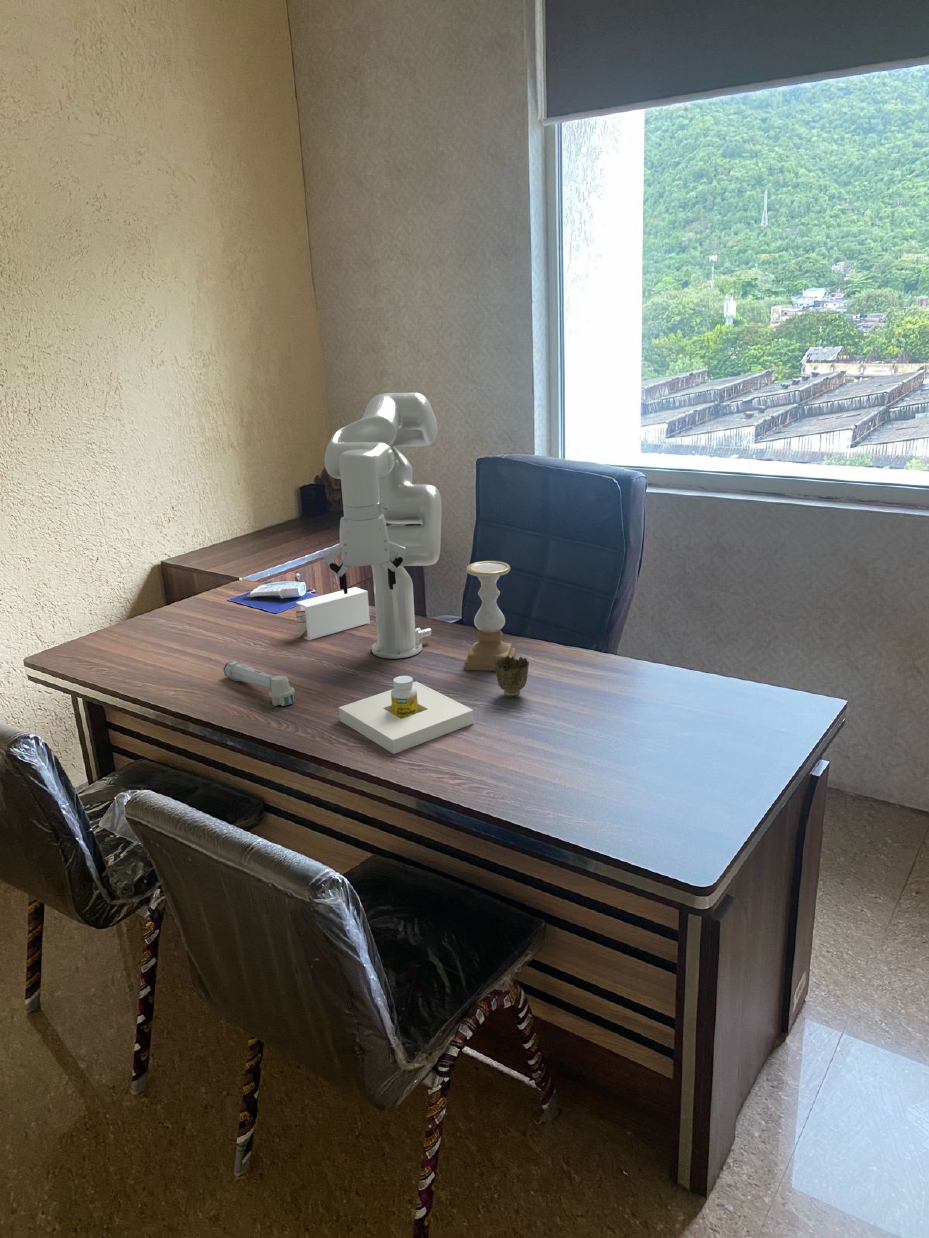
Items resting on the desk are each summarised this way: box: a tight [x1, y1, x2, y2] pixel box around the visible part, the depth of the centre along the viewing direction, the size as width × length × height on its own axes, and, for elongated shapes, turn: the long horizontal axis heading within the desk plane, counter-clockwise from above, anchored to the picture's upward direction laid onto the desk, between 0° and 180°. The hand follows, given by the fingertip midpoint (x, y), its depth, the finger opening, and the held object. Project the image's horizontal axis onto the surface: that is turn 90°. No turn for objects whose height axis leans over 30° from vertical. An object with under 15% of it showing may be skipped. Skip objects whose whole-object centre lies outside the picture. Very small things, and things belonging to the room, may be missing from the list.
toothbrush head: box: [223, 661, 296, 707], centre depth 207 cm, size 5×7×25 cm
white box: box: [295, 586, 371, 641], centre depth 242 cm, size 20×6×9 cm, turn 129°
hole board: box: [338, 680, 475, 755], centre depth 189 cm, size 20×20×3 cm
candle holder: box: [464, 560, 517, 672], centre depth 215 cm, size 11×11×24 cm
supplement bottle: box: [391, 675, 418, 719], centre depth 188 cm, size 5×5×10 cm
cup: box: [494, 656, 530, 699], centre depth 199 cm, size 8×7×8 cm
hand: (368, 589), depth 193 cm, fingers open, 9 cm apart
